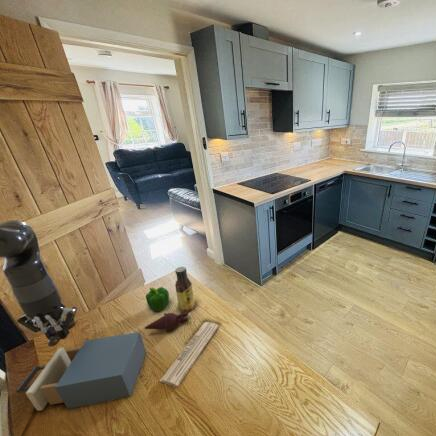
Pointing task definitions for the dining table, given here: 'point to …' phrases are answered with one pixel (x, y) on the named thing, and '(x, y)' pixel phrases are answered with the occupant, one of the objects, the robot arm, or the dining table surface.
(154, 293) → the bell pepper
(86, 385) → the cabinet
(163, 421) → the dining table surface
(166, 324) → the beetroot
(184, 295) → the sauce bottle
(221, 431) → the dining table surface
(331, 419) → the dining table surface
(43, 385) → the drawer
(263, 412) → the dining table surface
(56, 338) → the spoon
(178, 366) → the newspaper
